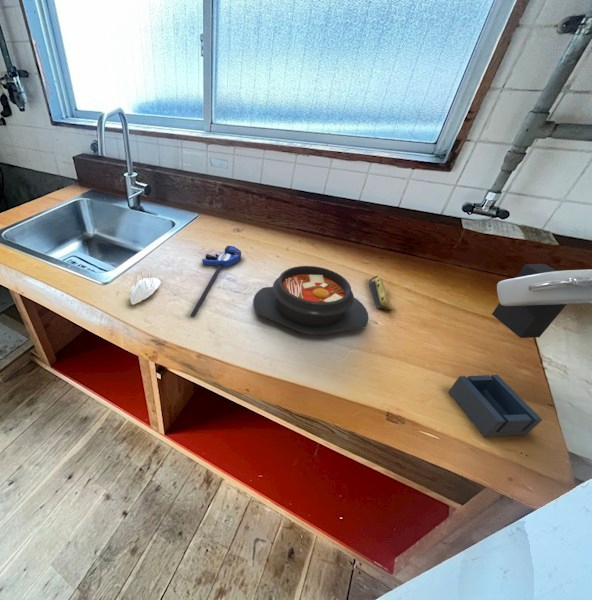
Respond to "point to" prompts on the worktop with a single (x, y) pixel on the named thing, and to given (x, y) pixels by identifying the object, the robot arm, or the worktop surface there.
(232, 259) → the bar clamp
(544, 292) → the robot arm
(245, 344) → the worktop surface
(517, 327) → the back pad
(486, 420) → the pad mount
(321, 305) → the casserole
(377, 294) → the yellow-green lumpy piece
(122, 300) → the worktop surface
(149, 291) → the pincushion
